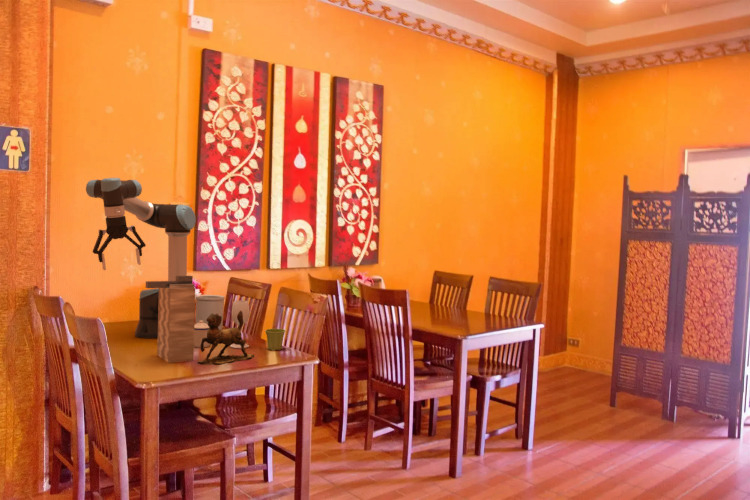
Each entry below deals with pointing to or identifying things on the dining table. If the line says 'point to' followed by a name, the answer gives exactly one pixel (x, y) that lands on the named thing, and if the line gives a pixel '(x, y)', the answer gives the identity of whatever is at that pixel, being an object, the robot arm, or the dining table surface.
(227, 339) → the figurine
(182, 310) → the stand
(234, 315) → the wineglass
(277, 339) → the plant pot
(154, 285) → the dark wood beam
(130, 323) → the dining table surface
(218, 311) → the utensil holder
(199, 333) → the teacup with lid
